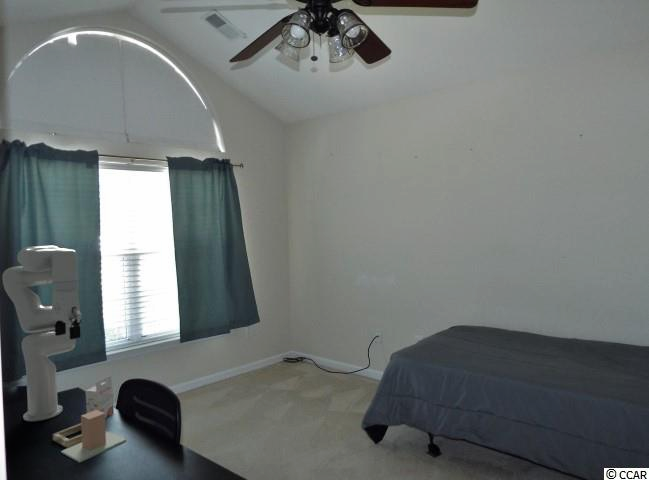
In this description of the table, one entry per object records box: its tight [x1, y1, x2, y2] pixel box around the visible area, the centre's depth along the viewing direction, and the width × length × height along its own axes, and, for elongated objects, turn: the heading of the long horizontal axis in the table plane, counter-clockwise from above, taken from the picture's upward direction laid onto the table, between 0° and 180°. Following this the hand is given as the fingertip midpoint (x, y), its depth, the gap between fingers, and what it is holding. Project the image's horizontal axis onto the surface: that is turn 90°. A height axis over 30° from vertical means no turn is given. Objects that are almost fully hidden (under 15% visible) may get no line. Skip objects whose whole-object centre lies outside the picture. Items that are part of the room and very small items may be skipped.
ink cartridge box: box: [85, 375, 115, 419], centre depth 160 cm, size 9×5×15 cm, turn 168°
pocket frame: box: [52, 422, 82, 449], centre depth 145 cm, size 10×10×2 cm
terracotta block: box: [80, 410, 107, 451], centre depth 138 cm, size 5×5×10 cm
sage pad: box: [61, 430, 127, 463], centre depth 138 cm, size 11×15×1 cm
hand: (67, 336), depth 145 cm, fingers open, 9 cm apart
